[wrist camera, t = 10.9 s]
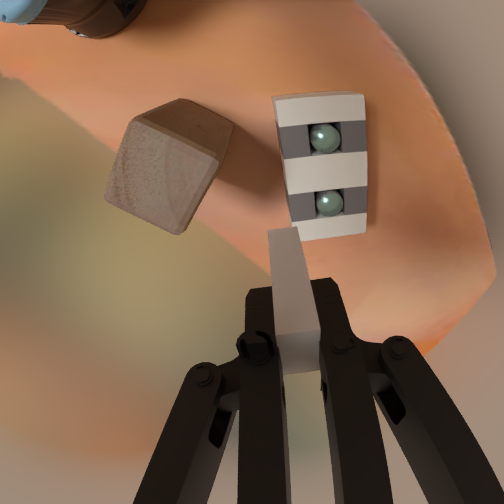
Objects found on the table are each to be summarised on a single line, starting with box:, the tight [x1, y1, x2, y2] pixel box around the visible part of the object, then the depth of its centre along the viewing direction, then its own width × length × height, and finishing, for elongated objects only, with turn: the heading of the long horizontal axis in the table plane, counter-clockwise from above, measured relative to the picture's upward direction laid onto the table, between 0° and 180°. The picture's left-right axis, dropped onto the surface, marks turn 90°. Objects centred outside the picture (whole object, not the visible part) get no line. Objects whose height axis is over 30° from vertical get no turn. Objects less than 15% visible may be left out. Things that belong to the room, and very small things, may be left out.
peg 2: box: [314, 189, 343, 217], centre depth 44 cm, size 4×4×7 cm
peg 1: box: [307, 122, 340, 153], centre depth 38 cm, size 4×4×7 cm
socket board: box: [272, 90, 367, 241], centre depth 41 cm, size 22×12×7 cm, turn 10°
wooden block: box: [104, 98, 234, 235], centre depth 34 cm, size 10×10×20 cm
